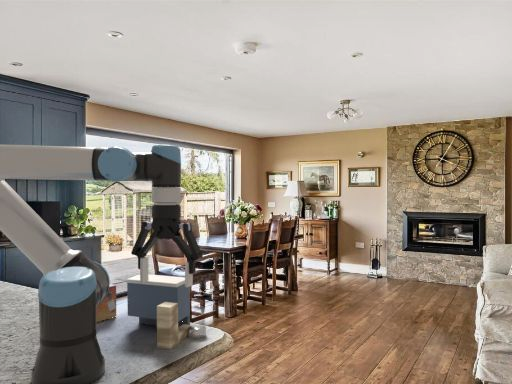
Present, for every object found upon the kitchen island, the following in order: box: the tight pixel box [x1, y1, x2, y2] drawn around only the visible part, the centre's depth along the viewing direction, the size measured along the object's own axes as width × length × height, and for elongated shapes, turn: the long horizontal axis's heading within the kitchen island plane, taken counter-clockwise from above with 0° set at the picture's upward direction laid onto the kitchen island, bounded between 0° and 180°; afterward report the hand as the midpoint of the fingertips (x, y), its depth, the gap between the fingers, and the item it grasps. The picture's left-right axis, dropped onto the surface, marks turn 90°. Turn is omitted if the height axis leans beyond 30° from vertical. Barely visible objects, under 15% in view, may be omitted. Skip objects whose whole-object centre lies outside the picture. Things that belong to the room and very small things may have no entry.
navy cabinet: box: [125, 273, 191, 327], centre depth 122 cm, size 8×17×15 cm, turn 70°
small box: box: [96, 283, 117, 324], centre depth 132 cm, size 8×6×10 cm
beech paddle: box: [156, 302, 194, 350], centre depth 114 cm, size 13×4×11 cm, turn 160°
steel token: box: [187, 324, 207, 340], centre depth 117 cm, size 5×5×2 cm
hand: (166, 283), depth 109 cm, fingers open, 13 cm apart
